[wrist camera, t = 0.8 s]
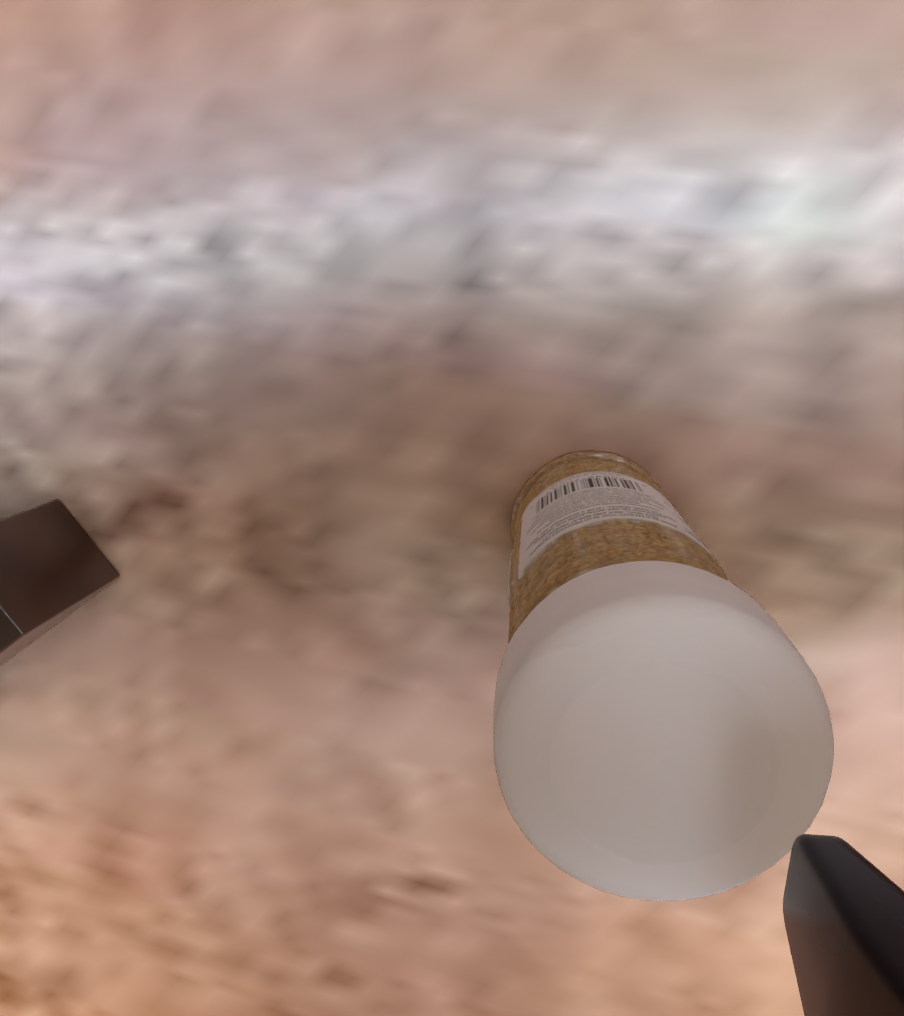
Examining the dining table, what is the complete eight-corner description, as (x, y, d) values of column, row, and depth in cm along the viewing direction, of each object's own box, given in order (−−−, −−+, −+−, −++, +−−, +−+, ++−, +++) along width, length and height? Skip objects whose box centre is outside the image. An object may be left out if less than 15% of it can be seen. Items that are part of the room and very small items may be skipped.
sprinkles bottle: (504, 591, 25) (475, 894, 12) (518, 439, 24) (505, 582, 11) (660, 607, 24) (812, 937, 11) (682, 453, 23) (877, 620, 10)
